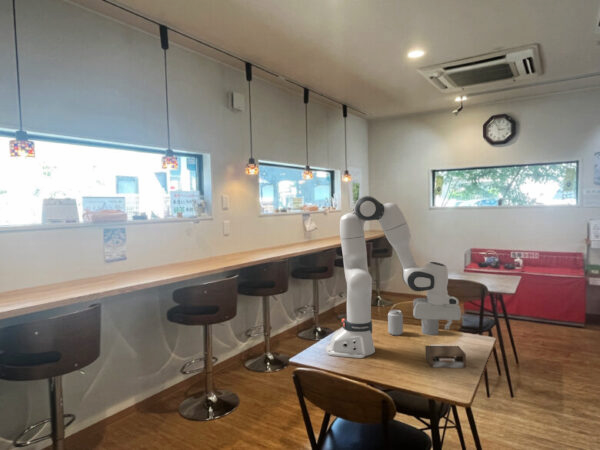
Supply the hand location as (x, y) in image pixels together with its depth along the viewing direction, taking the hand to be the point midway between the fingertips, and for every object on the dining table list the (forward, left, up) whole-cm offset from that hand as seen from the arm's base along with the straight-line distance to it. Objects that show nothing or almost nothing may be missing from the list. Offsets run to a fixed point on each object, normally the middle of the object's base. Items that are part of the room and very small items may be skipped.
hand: (436, 328), depth 171 cm
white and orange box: (+1, -6, -11) cm, 13 cm away
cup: (+4, +28, -11) cm, 30 cm away
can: (-14, +26, -11) cm, 31 cm away
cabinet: (+1, -11, -11) cm, 16 cm away
